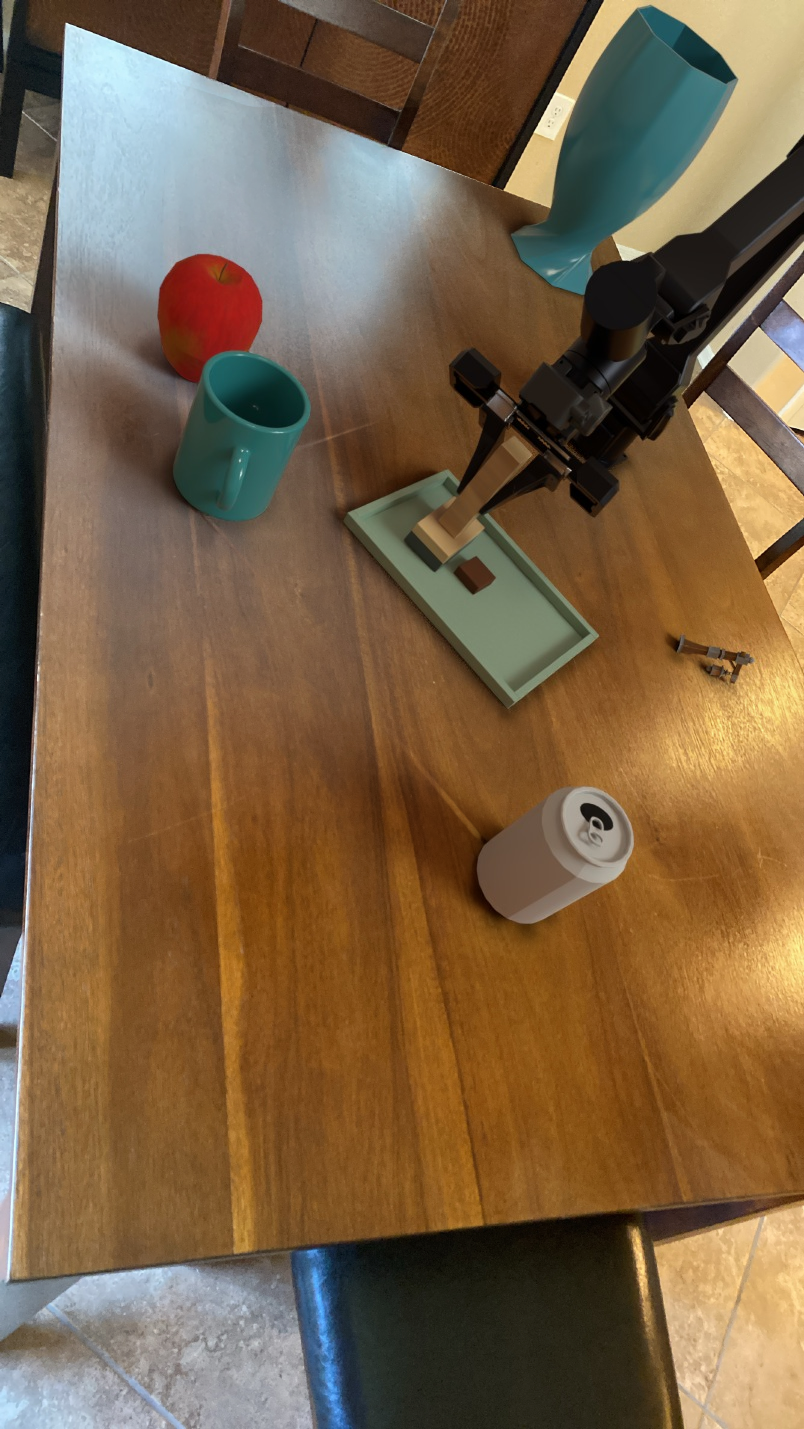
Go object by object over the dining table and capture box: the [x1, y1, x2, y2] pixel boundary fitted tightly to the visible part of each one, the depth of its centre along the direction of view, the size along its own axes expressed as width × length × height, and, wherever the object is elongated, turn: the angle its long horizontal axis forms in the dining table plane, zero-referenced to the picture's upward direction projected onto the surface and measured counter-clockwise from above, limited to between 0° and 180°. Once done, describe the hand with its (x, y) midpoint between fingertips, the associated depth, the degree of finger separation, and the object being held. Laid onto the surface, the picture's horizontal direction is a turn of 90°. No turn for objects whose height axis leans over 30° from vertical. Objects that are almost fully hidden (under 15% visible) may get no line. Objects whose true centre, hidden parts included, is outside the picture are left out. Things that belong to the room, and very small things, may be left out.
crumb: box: [454, 556, 496, 595], centre depth 85 cm, size 3×3×1 cm
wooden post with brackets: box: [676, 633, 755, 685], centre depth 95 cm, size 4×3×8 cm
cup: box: [172, 351, 312, 522], centre depth 73 cm, size 9×12×11 cm
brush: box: [404, 435, 533, 572], centre depth 81 cm, size 7×4×14 cm, turn 143°
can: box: [476, 785, 635, 925], centre depth 66 cm, size 8×8×12 cm
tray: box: [342, 468, 600, 710], centre depth 85 cm, size 16×24×2 cm, turn 46°
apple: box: [156, 253, 264, 384], centre depth 80 cm, size 9×9×12 cm
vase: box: [510, 4, 739, 296], centre depth 119 cm, size 17×17×30 cm
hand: (468, 503), depth 80 cm, fingers closed on brush, 2 cm apart
